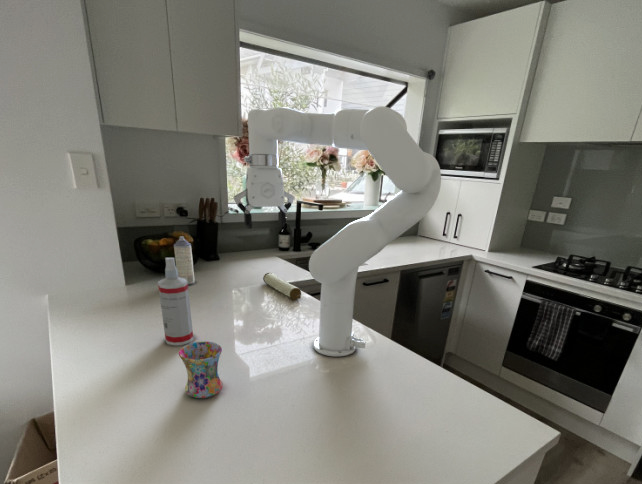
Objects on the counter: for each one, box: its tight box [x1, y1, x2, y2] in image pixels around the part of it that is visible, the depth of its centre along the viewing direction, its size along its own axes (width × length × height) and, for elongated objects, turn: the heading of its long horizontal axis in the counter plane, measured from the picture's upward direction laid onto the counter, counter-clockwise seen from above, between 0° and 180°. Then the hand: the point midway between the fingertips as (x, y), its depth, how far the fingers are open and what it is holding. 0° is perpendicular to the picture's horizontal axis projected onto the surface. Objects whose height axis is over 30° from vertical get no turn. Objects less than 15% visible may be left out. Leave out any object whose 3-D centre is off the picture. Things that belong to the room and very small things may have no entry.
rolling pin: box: [262, 272, 302, 301], centre depth 158 cm, size 32×6×5 cm, turn 32°
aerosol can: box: [173, 235, 196, 286], centre depth 161 cm, size 7×7×20 cm
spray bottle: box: [157, 257, 194, 346], centre depth 108 cm, size 8×8×25 cm
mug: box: [178, 341, 224, 399], centre depth 88 cm, size 12×9×11 cm
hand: (265, 227), depth 108 cm, fingers open, 9 cm apart
